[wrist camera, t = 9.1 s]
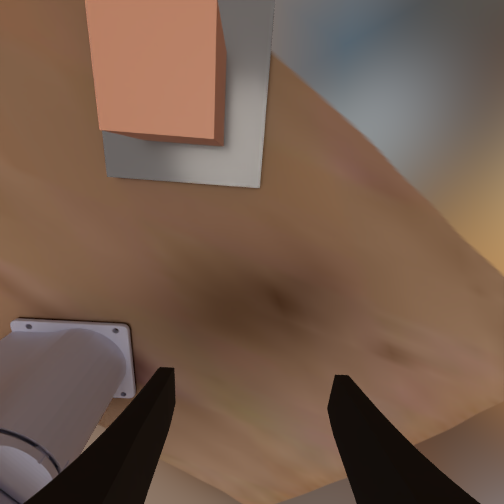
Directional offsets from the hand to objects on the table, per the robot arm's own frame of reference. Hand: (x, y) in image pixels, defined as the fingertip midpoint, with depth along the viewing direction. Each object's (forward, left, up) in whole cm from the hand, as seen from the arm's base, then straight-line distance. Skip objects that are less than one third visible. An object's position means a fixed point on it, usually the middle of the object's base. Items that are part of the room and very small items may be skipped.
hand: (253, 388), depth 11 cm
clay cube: (-5, +13, -9) cm, 16 cm away
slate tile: (-5, +13, -10) cm, 17 cm away
